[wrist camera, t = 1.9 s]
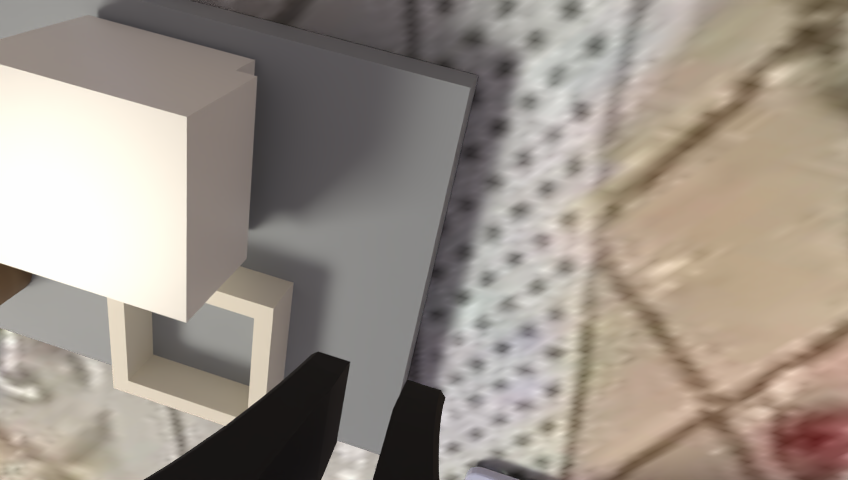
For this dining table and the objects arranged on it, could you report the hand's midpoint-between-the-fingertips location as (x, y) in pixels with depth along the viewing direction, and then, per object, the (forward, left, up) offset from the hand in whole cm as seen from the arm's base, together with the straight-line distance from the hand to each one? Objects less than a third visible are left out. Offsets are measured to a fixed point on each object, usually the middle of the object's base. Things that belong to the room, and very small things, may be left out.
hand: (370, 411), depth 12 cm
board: (+10, +4, -9) cm, 14 cm away
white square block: (+8, 0, -8) cm, 12 cm away
